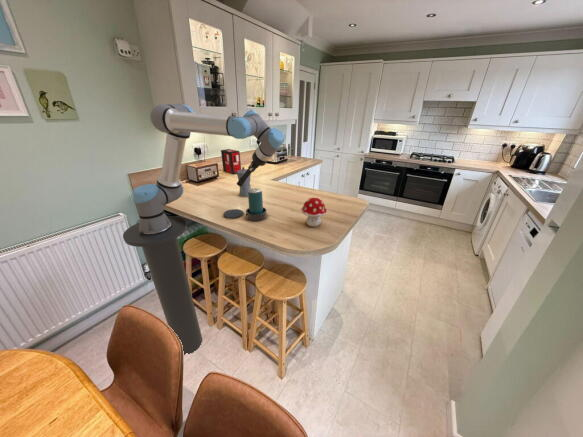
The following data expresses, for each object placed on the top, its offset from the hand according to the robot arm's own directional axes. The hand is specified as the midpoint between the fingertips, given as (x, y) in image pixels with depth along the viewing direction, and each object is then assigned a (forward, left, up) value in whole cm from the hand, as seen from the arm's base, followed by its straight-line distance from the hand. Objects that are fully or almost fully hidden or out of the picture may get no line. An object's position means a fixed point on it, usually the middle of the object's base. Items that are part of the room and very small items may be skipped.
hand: (245, 177), depth 126 cm
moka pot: (+23, +27, -23) cm, 43 cm away
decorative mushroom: (+13, -37, -23) cm, 45 cm away
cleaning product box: (+58, +83, -23) cm, 104 cm away
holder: (+1, -6, -23) cm, 23 cm away
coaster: (-5, +7, -23) cm, 24 cm away
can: (+1, -6, -22) cm, 23 cm away
